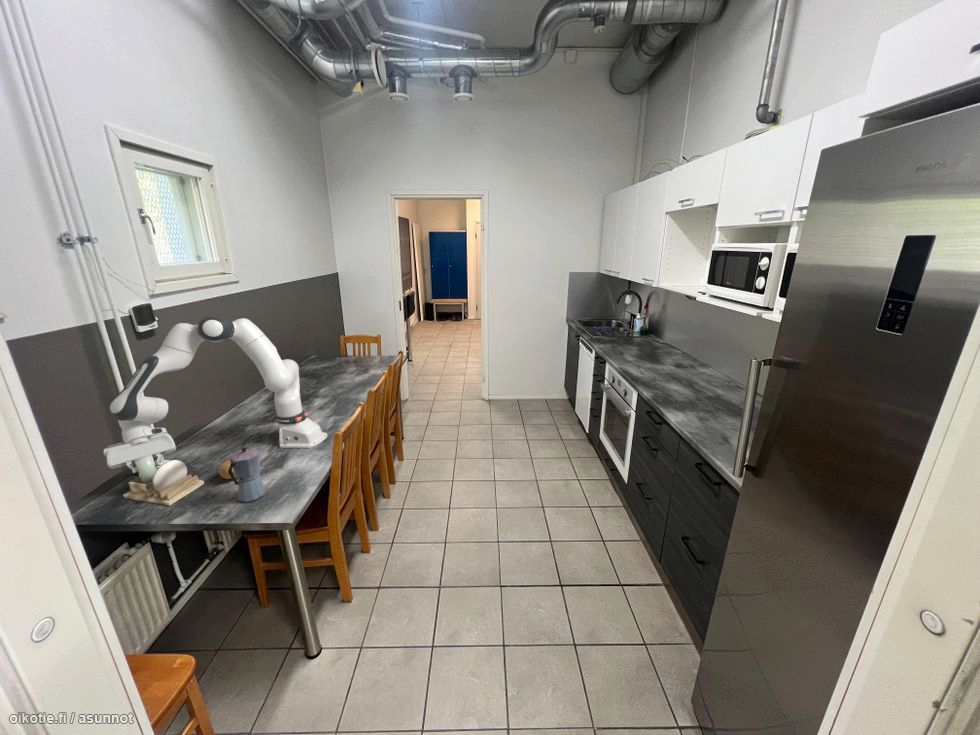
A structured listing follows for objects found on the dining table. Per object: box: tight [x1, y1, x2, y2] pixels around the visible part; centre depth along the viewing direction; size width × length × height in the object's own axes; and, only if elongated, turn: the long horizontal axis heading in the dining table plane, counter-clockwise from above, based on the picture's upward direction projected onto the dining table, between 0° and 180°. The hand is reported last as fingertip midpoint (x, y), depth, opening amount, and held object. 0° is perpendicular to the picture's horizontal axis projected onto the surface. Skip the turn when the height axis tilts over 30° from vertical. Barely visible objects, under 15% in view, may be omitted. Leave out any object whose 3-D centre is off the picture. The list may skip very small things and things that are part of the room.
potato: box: [218, 458, 238, 480], centre depth 158 cm, size 10×14×8 cm
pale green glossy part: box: [134, 455, 158, 484], centre depth 148 cm, size 5×5×11 cm
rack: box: [123, 459, 205, 506], centre depth 147 cm, size 22×14×13 cm, turn 77°
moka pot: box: [228, 447, 266, 503], centre depth 142 cm, size 10×15×20 cm, turn 2°
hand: (147, 469), depth 148 cm, fingers closed on pale green glossy part, 5 cm apart
